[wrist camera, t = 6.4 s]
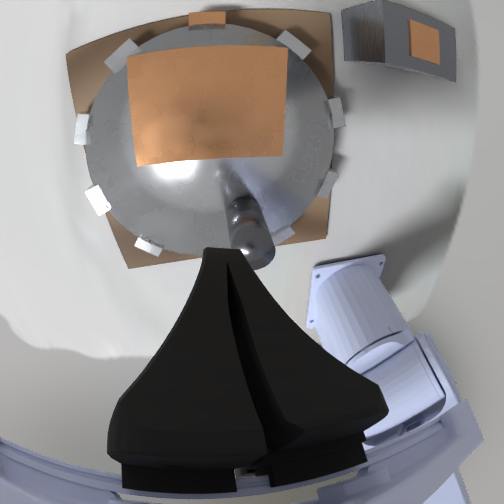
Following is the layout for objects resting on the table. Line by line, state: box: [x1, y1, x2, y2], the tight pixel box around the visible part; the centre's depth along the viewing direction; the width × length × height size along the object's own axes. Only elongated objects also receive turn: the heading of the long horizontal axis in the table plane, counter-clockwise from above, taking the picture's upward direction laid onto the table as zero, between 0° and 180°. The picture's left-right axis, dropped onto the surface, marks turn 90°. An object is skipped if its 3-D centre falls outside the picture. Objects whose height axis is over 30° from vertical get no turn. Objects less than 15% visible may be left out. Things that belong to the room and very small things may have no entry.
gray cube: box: [341, 0, 456, 82], centre depth 11 cm, size 4×6×5 cm, turn 95°
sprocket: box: [74, 11, 346, 270], centre depth 14 cm, size 18×18×6 cm
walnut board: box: [66, 9, 333, 269], centre depth 16 cm, size 18×17×1 cm
